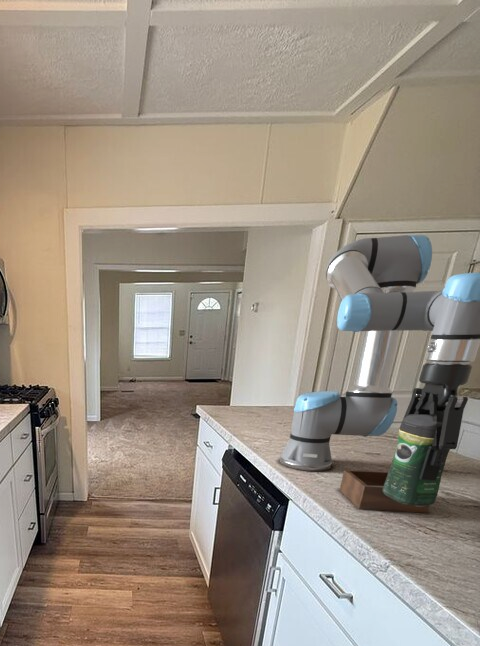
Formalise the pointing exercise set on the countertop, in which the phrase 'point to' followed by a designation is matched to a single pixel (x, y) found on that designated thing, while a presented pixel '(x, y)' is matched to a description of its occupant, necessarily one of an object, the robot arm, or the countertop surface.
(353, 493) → the holder
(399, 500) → the coffee jar
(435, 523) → the countertop surface
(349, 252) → the robot arm
